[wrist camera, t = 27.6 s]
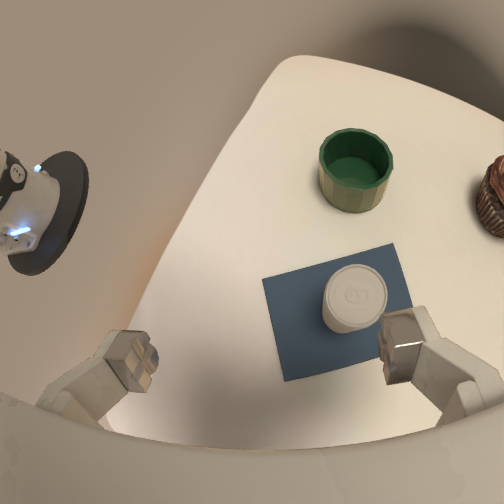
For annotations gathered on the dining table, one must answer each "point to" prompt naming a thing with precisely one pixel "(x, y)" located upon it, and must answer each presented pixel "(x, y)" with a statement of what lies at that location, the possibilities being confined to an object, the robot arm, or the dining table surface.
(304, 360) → the mat
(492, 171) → the cupcake
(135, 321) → the dining table surface
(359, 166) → the green round pot
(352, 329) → the beverage can
